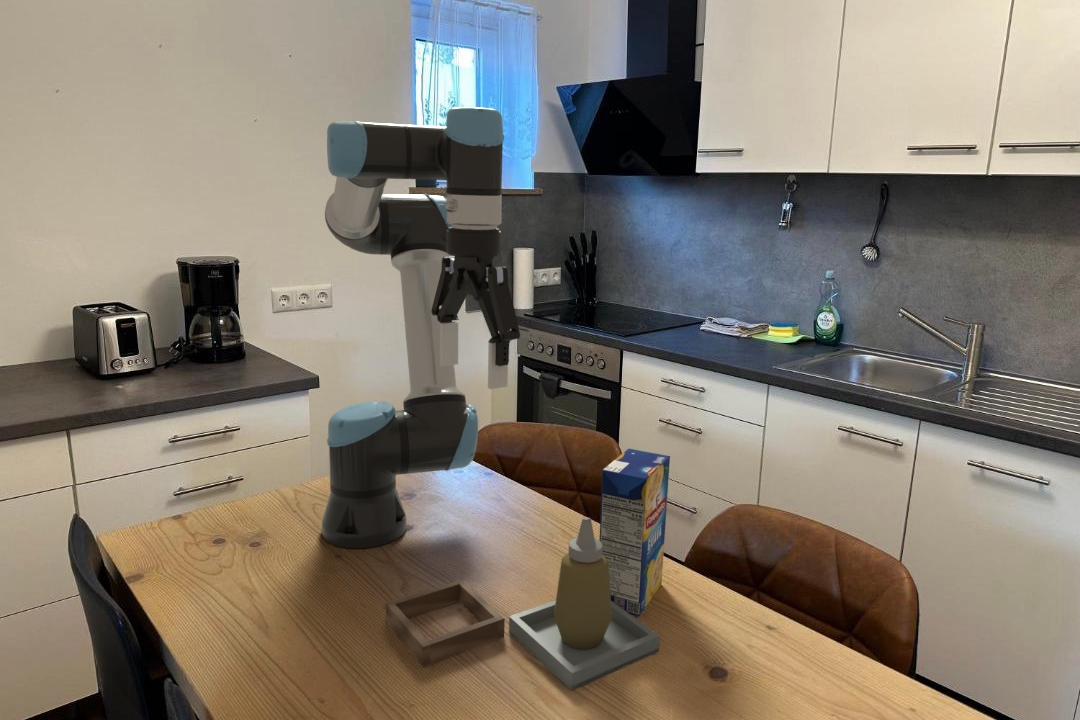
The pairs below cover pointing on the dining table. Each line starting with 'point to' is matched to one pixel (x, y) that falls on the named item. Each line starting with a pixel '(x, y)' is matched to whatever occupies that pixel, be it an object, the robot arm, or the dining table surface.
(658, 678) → the dining table surface
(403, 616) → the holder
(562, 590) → the squeeze bottle
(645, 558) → the beverage box
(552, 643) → the tray
